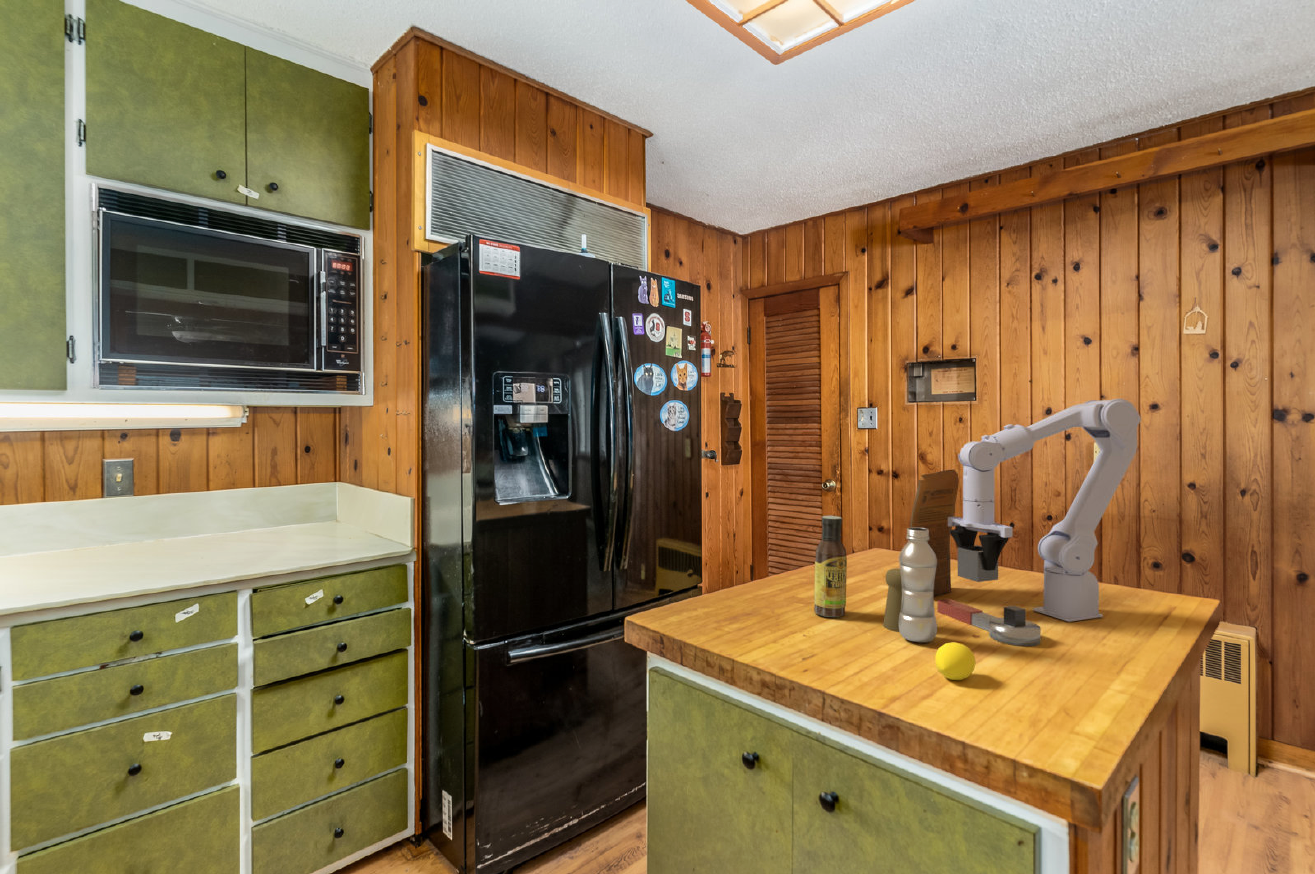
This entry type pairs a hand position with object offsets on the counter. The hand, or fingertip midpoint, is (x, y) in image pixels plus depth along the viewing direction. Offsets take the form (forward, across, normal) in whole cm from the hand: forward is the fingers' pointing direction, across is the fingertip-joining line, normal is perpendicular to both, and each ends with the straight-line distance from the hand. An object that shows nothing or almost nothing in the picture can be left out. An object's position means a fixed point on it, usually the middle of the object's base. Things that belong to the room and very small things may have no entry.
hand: (978, 566), depth 127 cm
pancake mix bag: (+10, -14, +1) cm, 17 cm away
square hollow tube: (+2, 0, 0) cm, 2 cm away
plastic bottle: (+10, +9, -23) cm, 26 cm away
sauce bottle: (+10, -9, -29) cm, 32 cm away
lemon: (+10, +24, -29) cm, 39 cm away
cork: (+10, +2, -21) cm, 23 cm away
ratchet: (+9, +7, -6) cm, 13 cm away
